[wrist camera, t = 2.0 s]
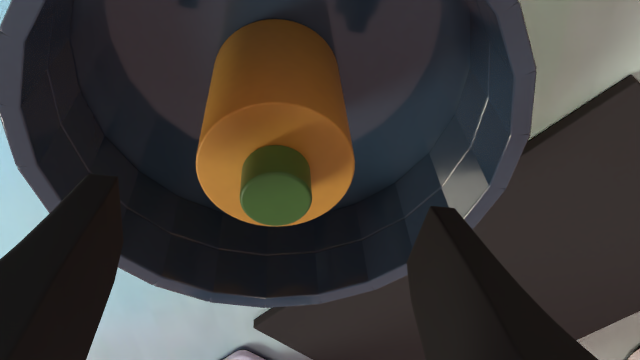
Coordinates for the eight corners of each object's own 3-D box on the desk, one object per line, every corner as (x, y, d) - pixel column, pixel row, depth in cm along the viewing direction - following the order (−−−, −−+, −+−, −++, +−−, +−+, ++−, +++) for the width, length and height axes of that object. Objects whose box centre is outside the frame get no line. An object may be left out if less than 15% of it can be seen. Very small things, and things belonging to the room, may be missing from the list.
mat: (414, 406, 34) (415, 414, 34) (253, 320, 27) (253, 328, 27) (739, 254, 26) (746, 262, 26) (631, 73, 19) (638, 80, 19)
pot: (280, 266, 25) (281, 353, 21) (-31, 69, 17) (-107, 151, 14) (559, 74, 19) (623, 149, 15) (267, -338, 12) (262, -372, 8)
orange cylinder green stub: (278, 148, 20) (277, 279, 15) (187, 77, 18) (153, 202, 13) (363, 78, 18) (394, 199, 13) (275, -10, 16) (273, 97, 11)
